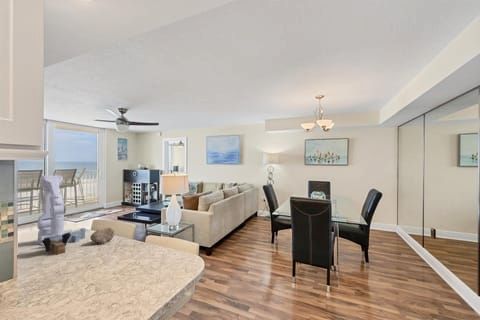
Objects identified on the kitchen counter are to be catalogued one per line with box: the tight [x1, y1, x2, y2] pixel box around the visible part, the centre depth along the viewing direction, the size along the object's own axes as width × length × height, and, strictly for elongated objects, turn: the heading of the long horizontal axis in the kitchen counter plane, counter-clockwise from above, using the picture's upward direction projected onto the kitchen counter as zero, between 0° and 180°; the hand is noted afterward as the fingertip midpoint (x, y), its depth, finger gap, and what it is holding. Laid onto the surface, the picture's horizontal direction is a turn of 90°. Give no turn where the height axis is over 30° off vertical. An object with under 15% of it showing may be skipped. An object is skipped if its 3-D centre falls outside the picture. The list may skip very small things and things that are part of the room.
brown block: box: [48, 240, 66, 255], centre depth 122 cm, size 13×4×5 cm, turn 65°
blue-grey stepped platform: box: [49, 227, 86, 245], centre depth 136 cm, size 5×20×7 cm, turn 155°
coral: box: [89, 227, 115, 245], centre depth 139 cm, size 14×9×10 cm, turn 154°
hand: (56, 249), depth 122 cm, fingers open, 7 cm apart
